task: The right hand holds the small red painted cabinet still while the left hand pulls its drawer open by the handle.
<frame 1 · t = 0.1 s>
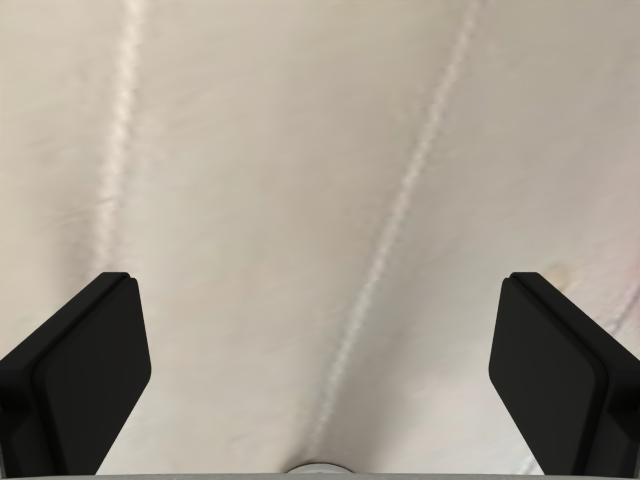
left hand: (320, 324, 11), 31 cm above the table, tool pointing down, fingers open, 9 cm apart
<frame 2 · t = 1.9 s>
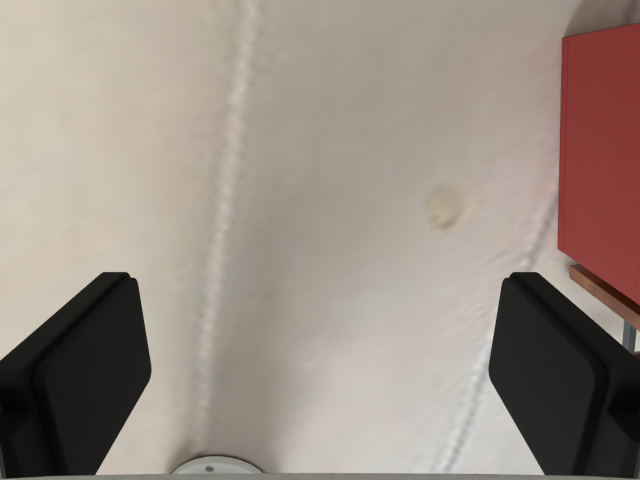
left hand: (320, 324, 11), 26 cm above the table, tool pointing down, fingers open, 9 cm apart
cabinet: (621, 141, 35), on the table
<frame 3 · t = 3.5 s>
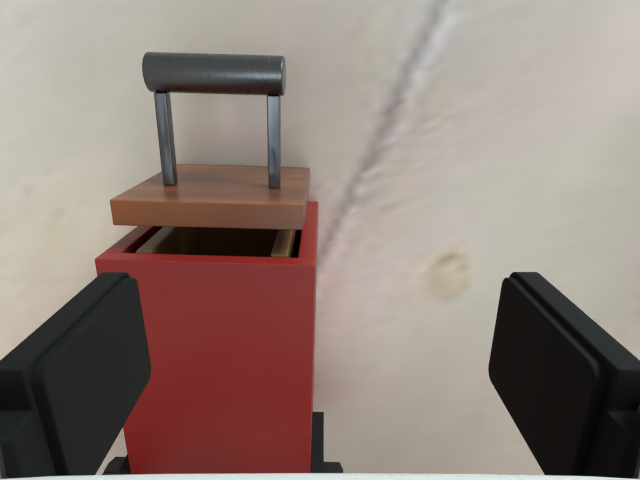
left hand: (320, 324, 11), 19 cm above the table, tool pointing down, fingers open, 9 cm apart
cabinet: (249, 311, 32), on the table, touching right hand
drawer: (231, 264, 25), point 5 cm above the table, slide at 1.3 cm
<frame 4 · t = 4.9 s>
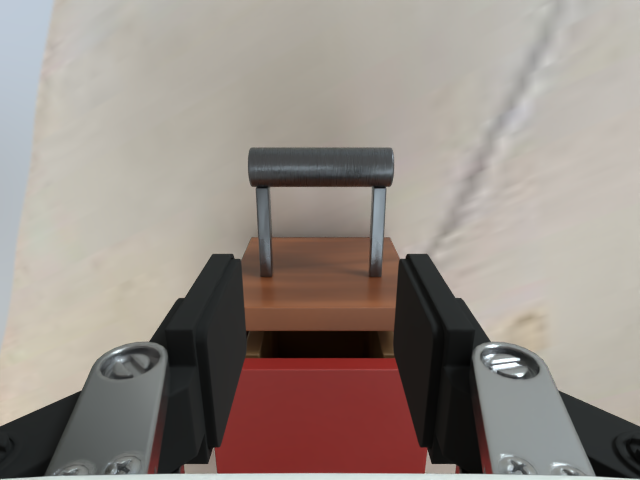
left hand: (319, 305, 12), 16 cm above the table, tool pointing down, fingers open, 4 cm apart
cabinet: (320, 375, 31), on the table, touching right hand
drawer: (320, 345, 24), point 5 cm above the table, slide at 1.3 cm
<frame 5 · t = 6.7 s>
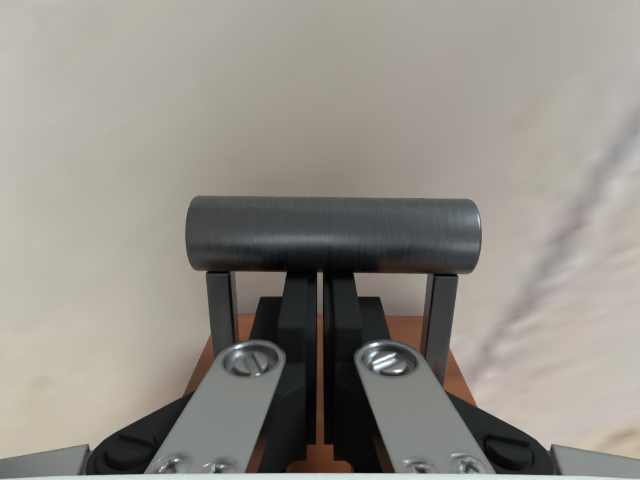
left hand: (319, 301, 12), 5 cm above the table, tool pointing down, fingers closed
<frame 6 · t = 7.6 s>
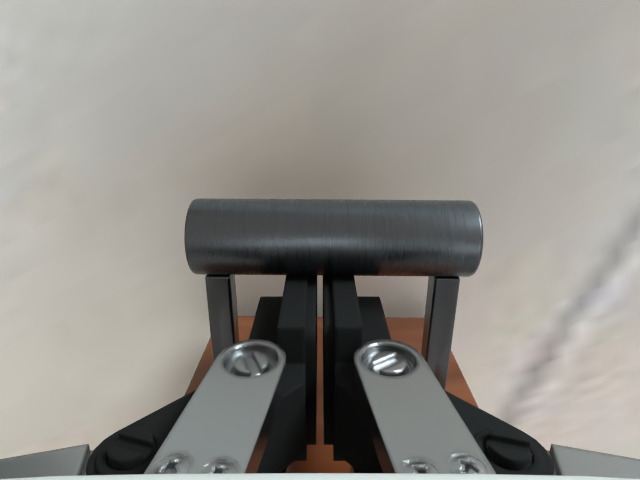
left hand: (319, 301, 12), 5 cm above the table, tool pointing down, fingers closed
when the right hand's fingers open (6 cm above the table, at t = 9.3 s): cabinet stays where it is, on the table.
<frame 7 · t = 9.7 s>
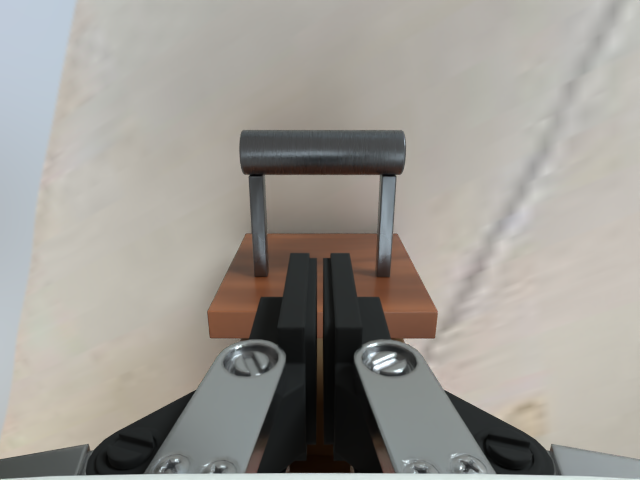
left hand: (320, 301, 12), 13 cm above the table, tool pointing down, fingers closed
drawer: (321, 352, 22), point 5 cm above the table, slide at 8.0 cm
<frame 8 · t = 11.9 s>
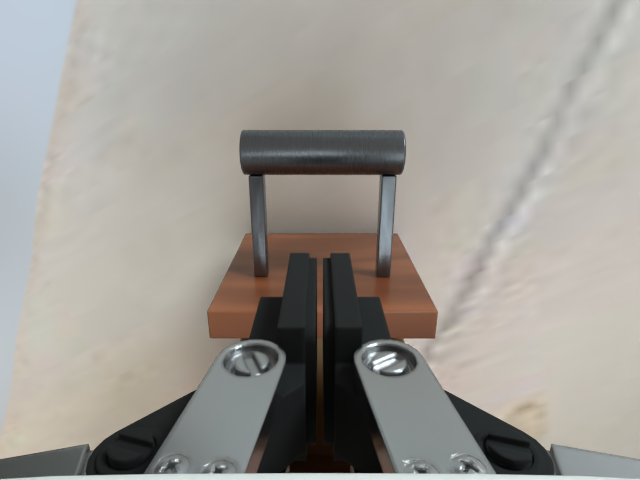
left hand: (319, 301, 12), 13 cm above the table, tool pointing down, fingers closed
drawer: (321, 352, 22), point 5 cm above the table, slide at 8.0 cm
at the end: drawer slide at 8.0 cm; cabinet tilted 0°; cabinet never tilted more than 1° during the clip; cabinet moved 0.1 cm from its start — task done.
